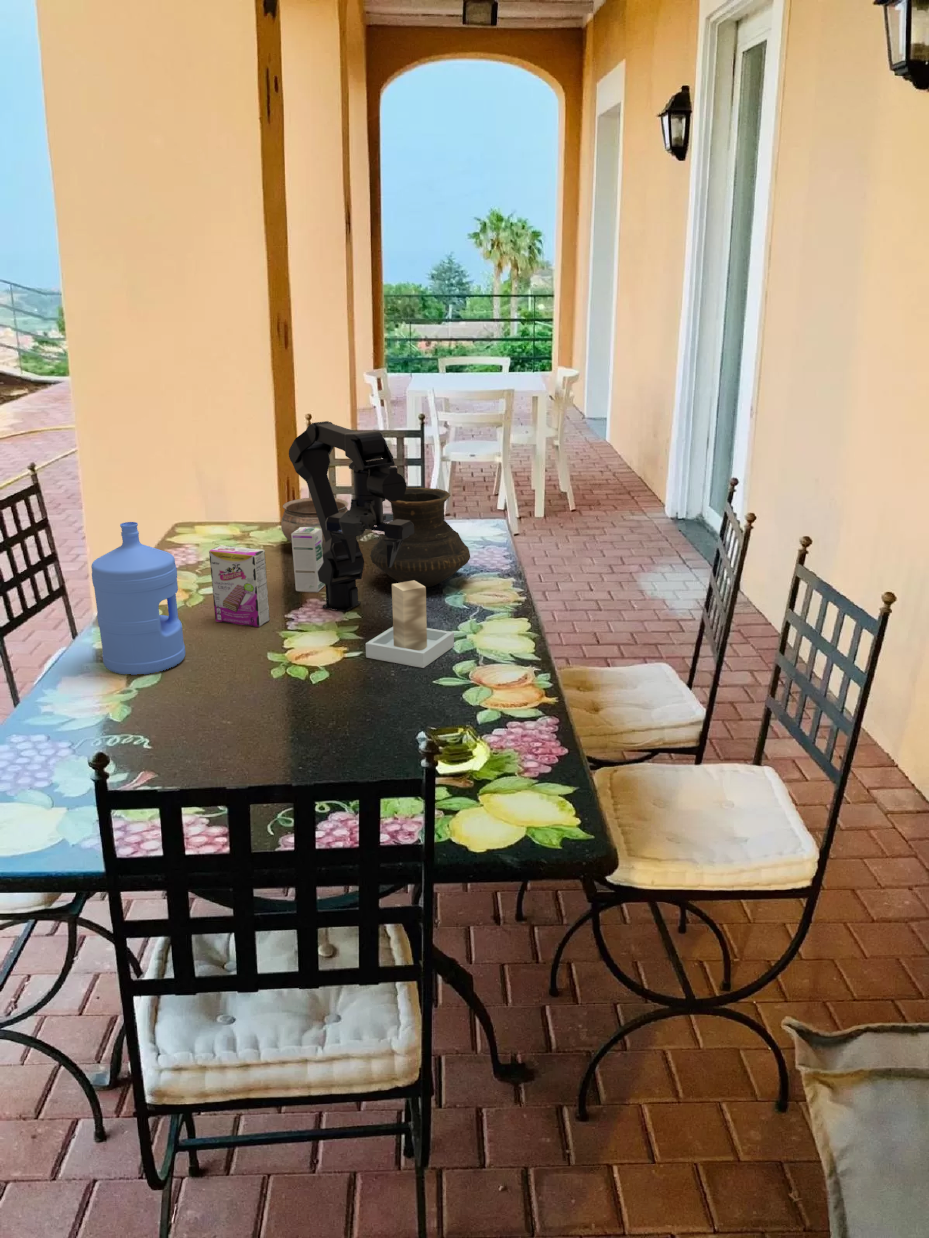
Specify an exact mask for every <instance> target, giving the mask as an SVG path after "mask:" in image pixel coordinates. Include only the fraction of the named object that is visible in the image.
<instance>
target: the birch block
mask: <svg viewBox="0 0 929 1238" xmlns="http://www.w3.org/2000/svg"><path fill="white" fill-rule="evenodd" d="M391 597H392V599H391V601H392V604H391V605H392V627H393V637H394V646H395V647H401V648H406V649H412V650H423V649H425V648H426V647H427V628H428V625H427V622H428V621H427V587H425V586H423V585H422V584H420V583H418V582H416V581H415V580H413V581H407V582H401V583H400V582H398V583H397V582H396V583H391Z"/></svg>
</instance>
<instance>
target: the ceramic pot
mask: <svg viewBox="0 0 929 1238" xmlns="http://www.w3.org/2000/svg"><path fill="white" fill-rule="evenodd" d="M450 497H451V494H450V493H449V492H448V491H447V490H444V489H440V488H431V487H430V488H429V487H406V491H405V494H404V496H403V497H402V498H401V499H399V500H398V501H389V500H387V502H389V503H390V507H391V511H392V512H391V513H392V521H394V520H396V519H401V520H409V521H411V522H412V523H413V525H414V534H412V535H410V536H409V537H407V538H405V539H404V540H403V542H402V544H401V545H400V547H399V550H398V552H397V555H396V557H395V560H394V562H393V565H392V567H390V568H388V566H387V545H386V543H385V541H384V539H385V538H387V536H386V535H385V534H383V535H382V536H381V538H380V539H379V541H378V542H377V543H375V544H374V546H373V547H372V548H371V551H370V559H371V562H372V563H373V564H374V565H375V566H376V567H377V568H379V569H380V570H381V571H382V572H383V573H385V574H386V575H388V576H389V577H391V578H392V579H394V580H395V581H397V582H398V583H401V582H407V581H413V580H415V581H416V582H418V583H420V584H422V585H423V586H425V587H426V588H432V587H434V586H436V585H439V584H440V583H442V582H444V581H445V580H448V579H449V578H450V577H452V576H453V575H454V574H455V573H457V572H458V571H459V570H460V569H461V568H463V567H464V566H465V565H467V564H468V563H469V560H470V558H471V553H470V549H469V546H467V545H466V544H465V542H464V541H463V540H462V538H461V536H460V534H459V533H458V531H456V530H454V529H453V527H452V526H451V525H450V524H449V523H448V522H447V521H446V520H445V503H446V502H447V500H448V499H449V498H450Z"/></svg>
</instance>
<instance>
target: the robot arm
mask: <svg viewBox="0 0 929 1238" xmlns="http://www.w3.org/2000/svg"><path fill="white" fill-rule="evenodd" d="M334 448H336V449H339V450H342V451H343V452H344V455H345V457H346V458H348V459H349V460H350V461H352V462H351V463H349V465H348V469H350V470H353V488H354V491H353V492H354V493H353V494H354V498H351V500H350V508H349V509H348V511H346V513H341V512H339V510H338V507H337V504H336V501H335V498H336V497H335V495H334V493H333V488H332V485H331V482H330V479H329V475H328V472H329V469H330V464H331V458H330V454H331V453H332V452H333V449H334ZM288 457H289V458H288V459H289V460H290V462H291V463H292V466H293V469H294V471H295V473H297V475H299V477H300V478H301V479H303V480H304V481H305V482H306V485H307V488H308V491H309V494H310V498H312V501H313V504H314V507H315V510H316V513H317V516H318V520H319V523H320V526H321V529H322V532H323V535H324V538H325V547H324V551H323V555H322V556H323V560H324V562H323V564H322V566H321V567H320V569H319V570H318V577H319V581H320V582H322V583H324V584H325V586H324V587H325V599H326V600H325V601H326V603H324V604H323V605H322V608H323V609H327V610H333V611H339V612H348V611H350V610H352V609H354V608H355V607H358V606H359V605H361V603H362V602H361V601H359V590H358V589H359V587H358V586H357V580H361V579H362V577H363V573H364V567H365V559H364V557H363V553H362V551H361V548H360V544H359V543H360V542H359V541H358V540H357V537H360V536H362V535H364V532H366V531H375V532H384V534H385V535H386V536H387V538H385V539H384V541H385V543H386V545H387V566H388V568H390V567H392V565H393V562H394V560H395V557H396V555H397V552H398V550H399V547H400V545H401V544H402V542H403V540H404V539H405V538H407V537H409V536H410V535H412V534H414V525H413V523H412V522H411V521H409V520H401V519H396V520H394V521H393V520H392V521H389V522H384V521H386V520H387V514H384V513H383V512H384V510H383V509H384V508H383V502H385V501H388V500H389V501H398V500H399V499H401V498H402V497H403V496H404V494H405V491H406V488H407V482H406V480H405V478H404V476H402V474H399V473H398V468H397V466H395V465H396V463H395V461H394V456H393V454H392V452H391V450H390V448H389V446H388V444H387V441H386V439H385V437H384V436H383V434H382V433H381V432H380V431H378V430H368V431H367V430H366V431H356V430H352V429H349V428H347V427H343V426H340V425H337V424H334V423H333V422H331V421H328V420H326V421H325V420H324V421H316V422H312V423H310V424H309V425H308V426H307V428H306V430H304V431H303V432H302V433H300V435H298V436H297V437H295V439H294V440H293V442H292V443H291V445H290V447H289V450H288ZM389 501H388V502H389ZM384 534H383V535H384Z"/></svg>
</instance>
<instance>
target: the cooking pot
mask: <svg viewBox="0 0 929 1238" xmlns="http://www.w3.org/2000/svg"><path fill="white" fill-rule="evenodd" d="M335 501H336V504H337V507H338V510H339V512H341V513H346V511H348V510H349V509H348V506H349V502H348V501H347V500H345V499H341V498H338V497H335ZM282 508H283V509H284V512H283V514H282V517H281V521H280V522H281V523H280V527H281V531H282V533H283V535H284V537H285V538H286V539H287V541H288V542H290V543H291V544H292V538H291V534H292V533H293V532H294V531H296V530H298V529H299V528H300V527H317V528H321V526H320V523H319V520H318V516H317V513H316V510H315V507H314V504H313V501H312V497H305V498H299V499H293V500H290V501H288V502H285V503H284V504H283V505H282ZM322 540H323V551H324V547H325V538H324V535H323V532H322Z"/></svg>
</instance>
